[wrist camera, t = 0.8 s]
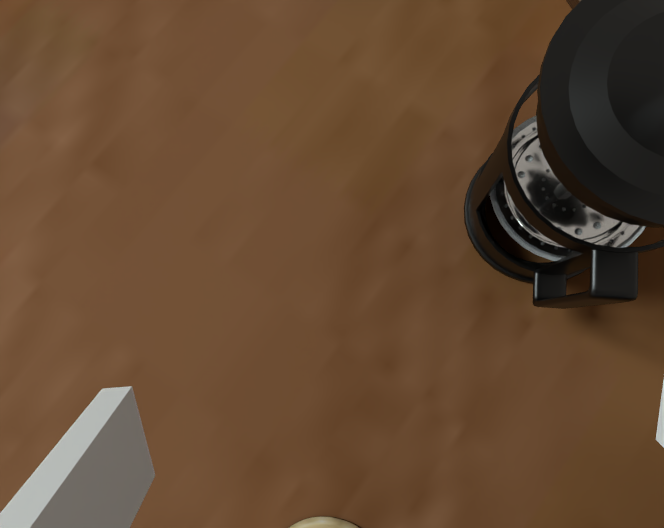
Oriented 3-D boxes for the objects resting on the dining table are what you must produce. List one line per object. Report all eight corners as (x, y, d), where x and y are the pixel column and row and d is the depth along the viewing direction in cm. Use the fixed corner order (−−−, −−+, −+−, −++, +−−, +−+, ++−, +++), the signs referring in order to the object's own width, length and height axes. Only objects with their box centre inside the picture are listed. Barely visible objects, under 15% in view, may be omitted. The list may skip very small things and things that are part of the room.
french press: (467, 132, 33) (618, -284, 11) (614, 135, 32) (1143, -330, 9) (458, 304, 32) (611, 249, 9) (612, 315, 31) (1227, 283, 8)
